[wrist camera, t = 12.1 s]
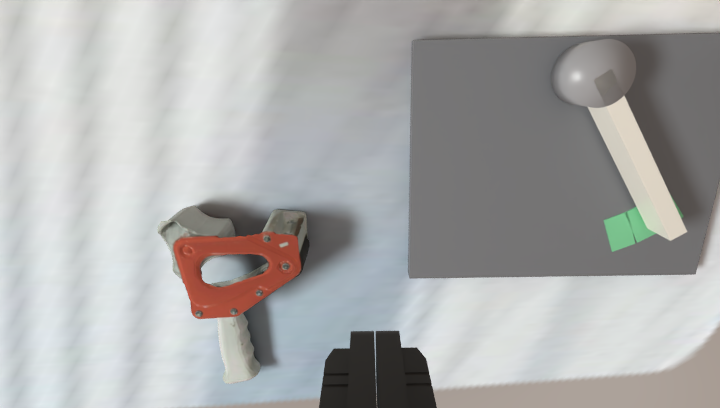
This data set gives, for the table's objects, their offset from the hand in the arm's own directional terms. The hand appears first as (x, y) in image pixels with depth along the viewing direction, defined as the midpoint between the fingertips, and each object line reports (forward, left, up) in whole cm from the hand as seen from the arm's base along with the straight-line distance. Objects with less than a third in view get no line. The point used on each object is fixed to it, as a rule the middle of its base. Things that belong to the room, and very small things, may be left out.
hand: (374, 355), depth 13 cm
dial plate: (0, +18, -27) cm, 32 cm away
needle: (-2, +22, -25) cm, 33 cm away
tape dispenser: (+11, -14, -28) cm, 33 cm away
